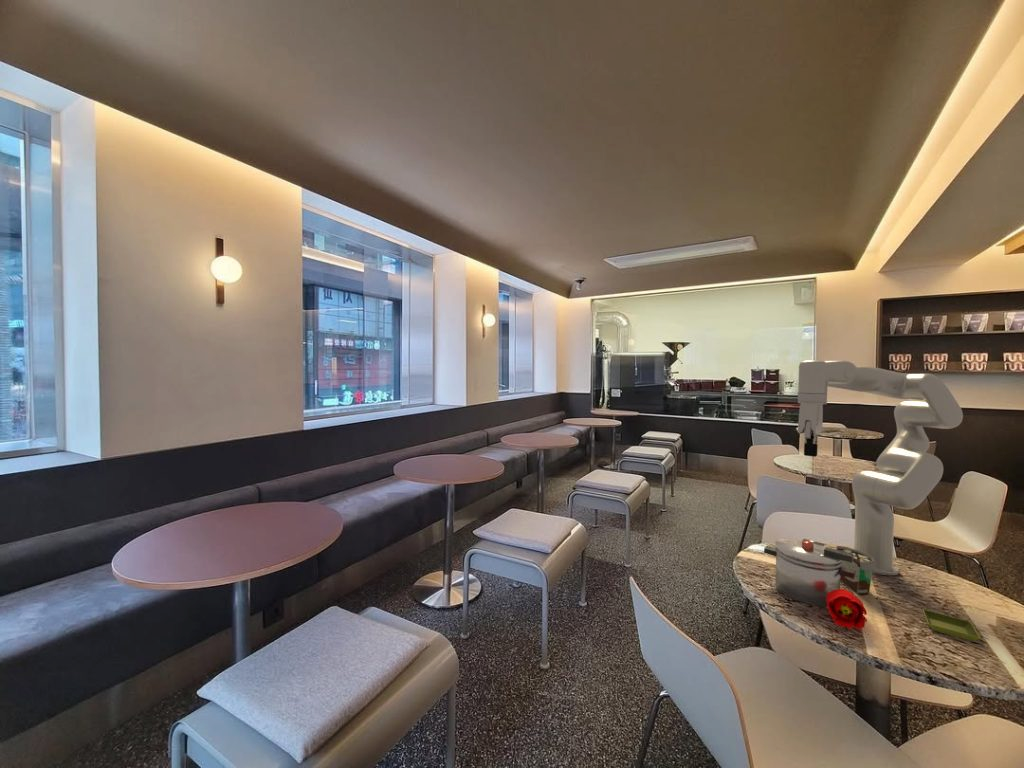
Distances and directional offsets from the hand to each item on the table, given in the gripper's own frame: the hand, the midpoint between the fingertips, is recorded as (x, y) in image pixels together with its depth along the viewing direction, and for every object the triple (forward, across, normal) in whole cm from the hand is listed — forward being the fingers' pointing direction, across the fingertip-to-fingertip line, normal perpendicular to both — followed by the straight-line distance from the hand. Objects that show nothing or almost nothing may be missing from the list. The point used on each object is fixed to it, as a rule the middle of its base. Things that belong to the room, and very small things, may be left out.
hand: (810, 455), depth 129 cm
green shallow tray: (+38, +11, +31) cm, 50 cm away
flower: (+37, +27, +13) cm, 48 cm away
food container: (+37, +2, +13) cm, 40 cm away
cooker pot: (+37, +17, +3) cm, 41 cm away
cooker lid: (+26, +17, +4) cm, 31 cm away
